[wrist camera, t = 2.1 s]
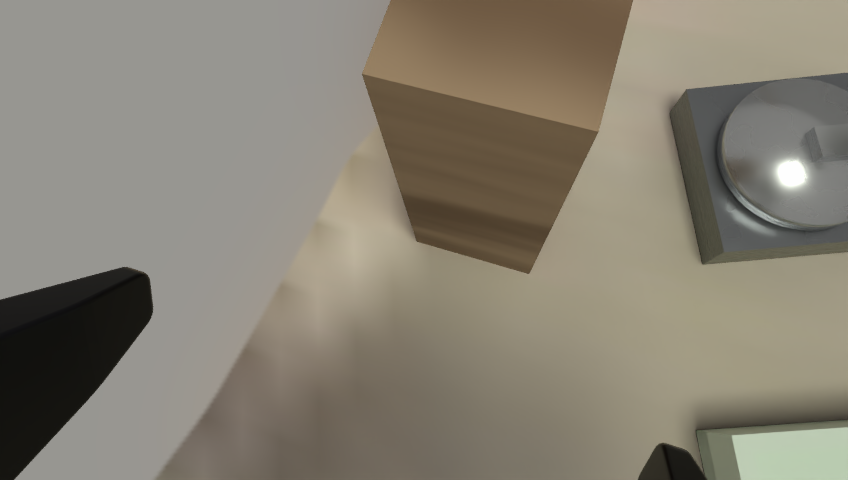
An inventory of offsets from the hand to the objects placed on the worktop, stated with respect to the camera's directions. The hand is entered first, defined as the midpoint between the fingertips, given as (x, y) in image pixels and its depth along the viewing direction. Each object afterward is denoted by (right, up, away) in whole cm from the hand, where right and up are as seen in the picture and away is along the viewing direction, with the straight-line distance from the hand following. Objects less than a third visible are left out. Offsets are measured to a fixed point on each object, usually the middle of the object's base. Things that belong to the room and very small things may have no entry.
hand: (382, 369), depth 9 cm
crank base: (+15, +5, +14) cm, 22 cm away
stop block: (+4, +4, +15) cm, 16 cm away
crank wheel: (+15, +5, +12) cm, 20 cm away
